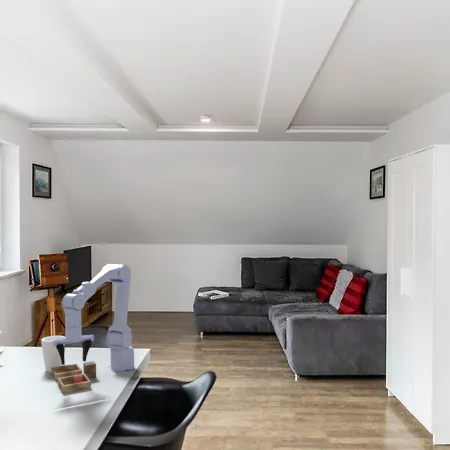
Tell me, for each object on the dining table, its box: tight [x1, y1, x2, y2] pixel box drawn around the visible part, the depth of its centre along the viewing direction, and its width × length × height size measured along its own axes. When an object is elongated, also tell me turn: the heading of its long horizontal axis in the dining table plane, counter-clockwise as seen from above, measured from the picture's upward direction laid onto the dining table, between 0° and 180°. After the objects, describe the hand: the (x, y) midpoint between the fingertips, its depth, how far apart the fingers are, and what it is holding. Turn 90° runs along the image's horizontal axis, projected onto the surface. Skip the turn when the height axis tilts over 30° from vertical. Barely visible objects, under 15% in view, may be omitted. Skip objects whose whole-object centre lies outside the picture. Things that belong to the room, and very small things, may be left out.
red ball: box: [74, 375, 83, 383], centre depth 170 cm, size 3×3×3 cm
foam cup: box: [40, 335, 66, 373], centre depth 190 cm, size 10×9×13 cm
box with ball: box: [57, 373, 92, 394], centre depth 168 cm, size 10×10×3 cm
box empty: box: [50, 363, 83, 382], centre depth 181 cm, size 10×10×3 cm
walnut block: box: [83, 360, 97, 380], centre depth 178 cm, size 4×4×6 cm
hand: (73, 362), depth 168 cm, fingers open, 7 cm apart
